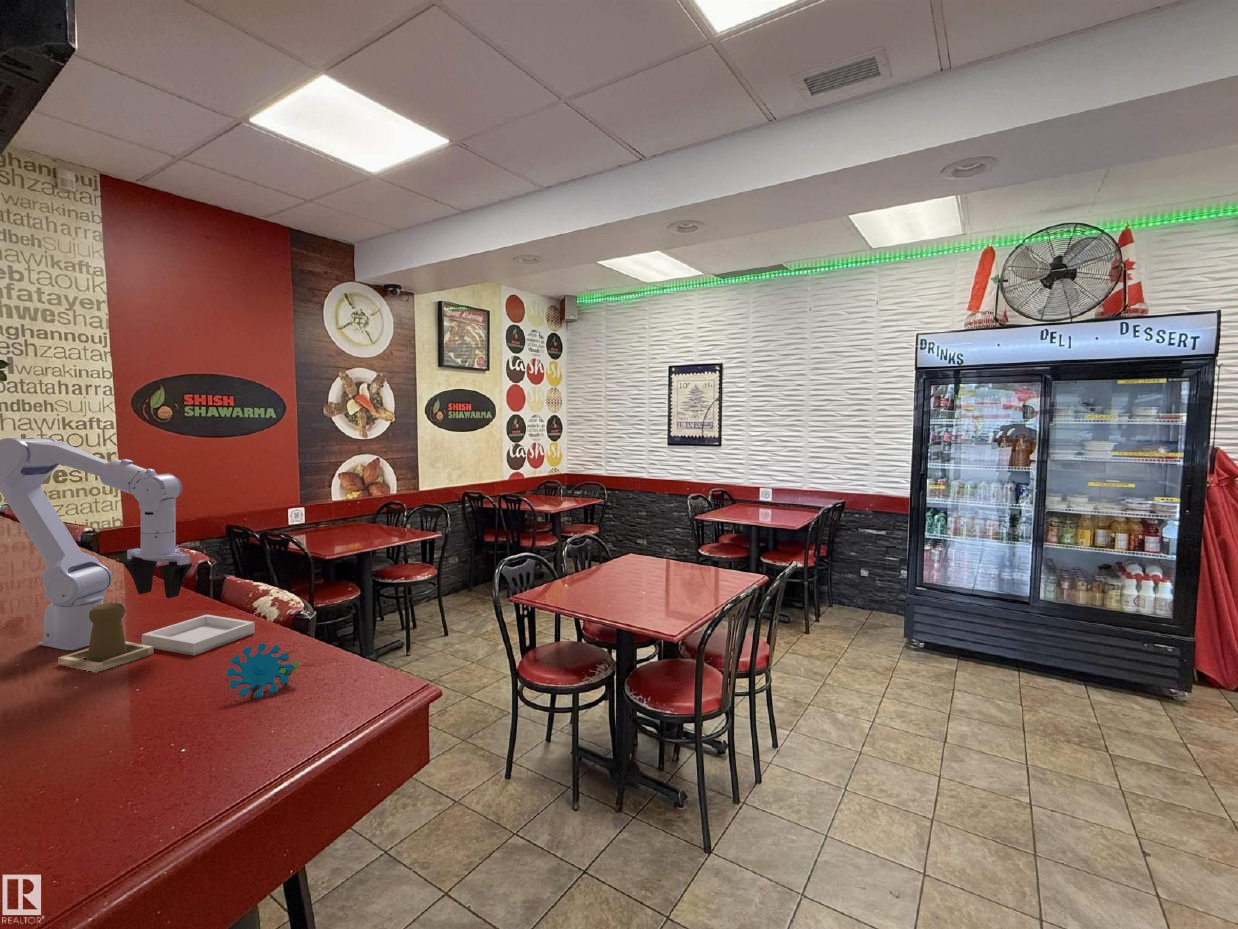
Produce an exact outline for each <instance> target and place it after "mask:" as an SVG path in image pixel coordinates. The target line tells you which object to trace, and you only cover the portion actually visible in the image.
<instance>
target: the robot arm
mask: <svg viewBox="0 0 1238 929" xmlns="http://www.w3.org/2000/svg"><path fill="white" fill-rule="evenodd" d="M133 462H134V461H133V460H131V459H128V458H125V459H115V460H112V461H108V460H106V459H103V458H101V457H99V456H96V455H94V454H91V453H88V452H87V451H84V450H81V449H79V448H77V447H74V446H73V445H70V444H69V443H68V442H66V441H61V440H57V439H55V438H51V437H41V438H12V437H6V438H1V439H0V493H1V496H2V497H3V498H4V500H5V502H6V503H7V504H8V507H9V508H10V509H11V511H12V512H13V514H14V515H15V517H16V519H17V520H18V521H19V523H20V524H21V526H22V528H23V530H24V531H25V532H26V534H27V536H28V537H29V539H30V540H31V541H32V543H33V545H34V547H35V548H36V549H37V550H36V551H38V553H39V554H40V556H41V557H42V558H43V559H42V560H43V561H44V562H45V564H46V566H45V568H44V570H43V571H42V572H41V574H40V576H39V578H40V580H41V582H42V584H43V587H44V588H43V589H44V595H45V598H47V599H48V601H49V602H50V603H49V604H48V606H47V607H46V608H45V611H44V613H43V641H39V642H38V645H39V646H43V647H48V648H54V649H60V650H63V651H68V650H72V651H75V650H78V649H82V648H85V647H89V644H90V638H91V632H92V627H93V623H92V622H91V621H90V618H89V613H90V611H91V609H92V608H93V607H95V606H97V605H101V604H104V596H106V591H107V590H108V589H109V588H110V587H111V585H112V584H113V578H114V577H113V574H112V572H111V570H110V569H109V567H107V566H105V565H104V564H102V563H101V562H100V561H99V560H98V558H97V557H96V556H94V555H92V554H89V553H86V552H84V551H82V550H81V549H80V547H79V546H78V544H77V543H76V541H75V538H73V536H72V535H71V533H70V531H69V530H68V528H67V526H66V525H65V523H64V522H63V520H62V519H61V517H60V516H59V513H58V512H57V511H56V509H55V508H54V505H52V503H51V501H50V500H49V498H48V496H47V495H46V494H45V492H44V490H43V488H42V487H41V486H42V485H43V483H44V481H45V480H46V479H47V478H48V477H49V476H50V475H51V474H52V473H53V472H54V471H55V470H56V469H57V468H58V467H59V466H60V465H62V466H65V467H67V468H68V467H69V468H72V469H74V470H76V471H77V470H78V471H81V472H84V473H87V474H91V475H93V476H96V477H97V476H98V477H99V480H100V482H101V484H103V485H105V486H107V487H110V488H113V489H116V490H118V491H122V492H124V493H127V494H129V495H133V497H134V498H135V499H136V500H137V502H138V510H139V509H140V548H138V547H137V548H131V549H127V550H126V554H127V555H126V556H127V558H126V559H127V560H130V561H127V562H124V564H123V566H124V568H125V569H126V570H127V571H128V574H130V575H131V578H132V579H133V583H134V585H135V588H136V591H137V594H138V595H144V594H145V595H146V594H148V593H149V594H150V593H151V592H152V590H153V589H152V588H153V579H154V572H155V569H156V566H157V564H158V562H160V563H168V564H163V565H159V566H158V570H159V572H160V574H161V576H162V580H163V583H164V584H163V585H164V594H165V597H166V599H172V598H175V597H179V595H180V592H181V588H182V585H183V583H184V580H185V578H186V575H187V574H188V572H189V571H190V570H191V568H192V567H193V562H191V554H189V553H184V552H182V551H181V548H176V543H177V542H176V540H177V539H176V538H177V537H176V536H177V530H176V528H177V527H176V523H177V522H176V521H177V519H176V517H177V515H176V514H177V513H176V512H177V511H176V510H177V507H176V506H177V502H176V501H177V499H176V498H178V497H180V495H181V494H182V491H183V484H182V482H181V480H180V479H179V477H177V476H175V475H173V474H172V473H171V472H170V473H169V472H167V473H161V474H158V473H157V472H156V470H155V469H153V468H144V467H141V466H138V465H137V464H133Z"/></svg>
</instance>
